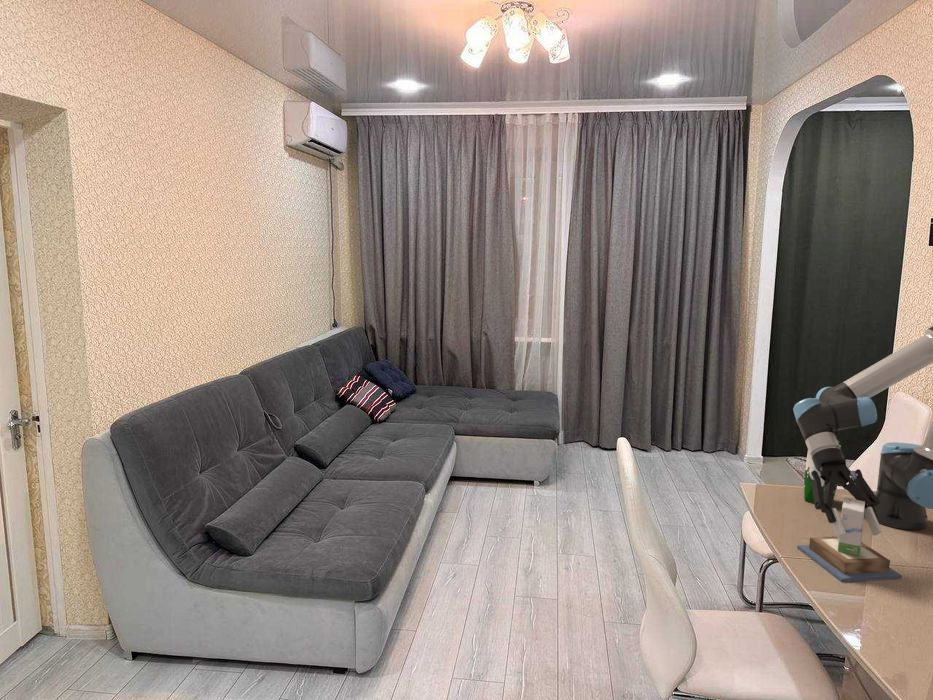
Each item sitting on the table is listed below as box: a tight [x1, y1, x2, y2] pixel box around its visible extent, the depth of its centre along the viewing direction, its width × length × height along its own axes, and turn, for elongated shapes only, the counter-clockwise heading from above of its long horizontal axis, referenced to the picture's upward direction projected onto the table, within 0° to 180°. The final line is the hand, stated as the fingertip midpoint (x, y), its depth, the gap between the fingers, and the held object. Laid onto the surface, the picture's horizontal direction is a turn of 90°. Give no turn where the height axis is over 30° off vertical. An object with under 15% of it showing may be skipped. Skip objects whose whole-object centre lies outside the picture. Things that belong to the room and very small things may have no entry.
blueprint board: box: [796, 544, 903, 583], centre depth 176 cm, size 16×18×1 cm
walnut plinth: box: [808, 536, 891, 574], centre depth 176 cm, size 12×14×3 cm
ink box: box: [838, 497, 865, 556], centre depth 175 cm, size 8×5×12 cm, turn 149°
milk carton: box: [803, 439, 842, 504], centre depth 216 cm, size 9×9×20 cm
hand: (859, 534), depth 172 cm, fingers open, 9 cm apart
